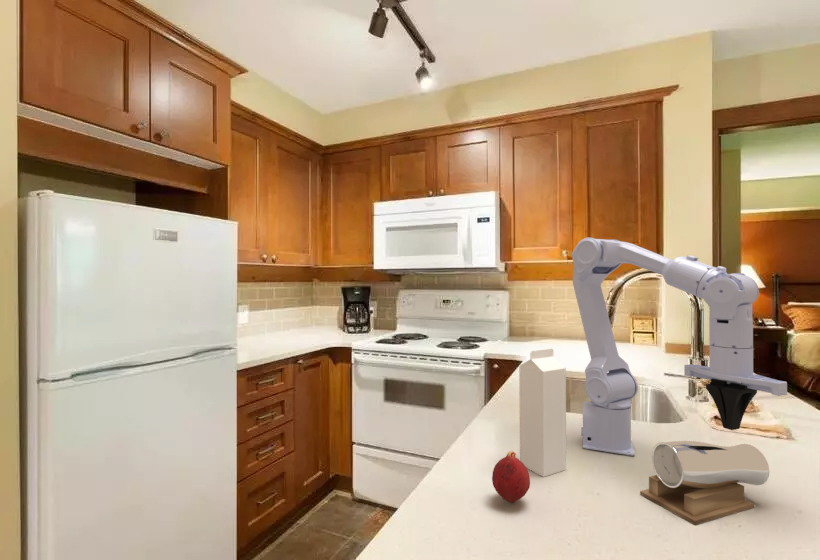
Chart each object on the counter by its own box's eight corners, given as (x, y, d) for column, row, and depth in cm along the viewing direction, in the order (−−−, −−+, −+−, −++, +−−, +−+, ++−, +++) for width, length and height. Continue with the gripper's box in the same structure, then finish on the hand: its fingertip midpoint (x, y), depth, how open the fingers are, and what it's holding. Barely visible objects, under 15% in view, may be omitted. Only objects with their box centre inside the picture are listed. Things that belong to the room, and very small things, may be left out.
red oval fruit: (523, 516, 61) (523, 462, 61) (486, 505, 64) (486, 454, 64) (534, 499, 66) (534, 449, 66) (499, 489, 69) (499, 441, 69)
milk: (566, 470, 76) (567, 351, 76) (543, 477, 73) (543, 353, 73) (541, 457, 82) (541, 346, 82) (518, 464, 79) (519, 348, 79)
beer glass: (779, 489, 62) (689, 491, 60) (739, 487, 68) (657, 488, 66) (763, 439, 65) (676, 439, 63) (726, 442, 71) (646, 441, 69)
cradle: (640, 494, 67) (640, 475, 67) (695, 481, 72) (695, 463, 72) (695, 525, 59) (694, 503, 59) (754, 507, 63) (754, 487, 63)
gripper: (799, 351, 63) (799, 440, 63) (702, 339, 77) (703, 412, 77) (770, 354, 61) (770, 447, 61) (675, 341, 74) (676, 416, 74)
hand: (731, 428), depth 68 cm, fingers closed
